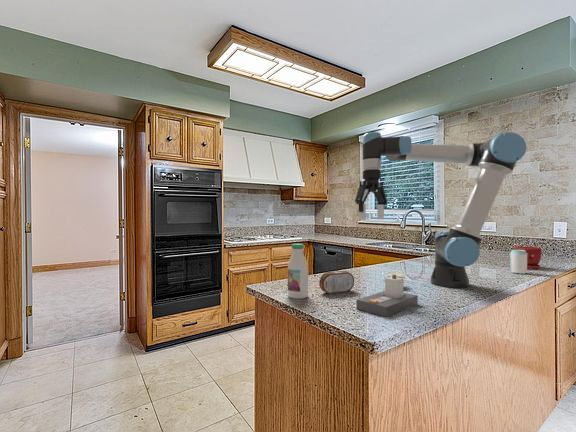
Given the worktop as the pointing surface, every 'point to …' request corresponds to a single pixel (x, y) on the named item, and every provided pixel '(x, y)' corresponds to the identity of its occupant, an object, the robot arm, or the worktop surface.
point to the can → (518, 261)
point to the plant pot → (531, 261)
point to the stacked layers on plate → (396, 275)
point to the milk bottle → (297, 273)
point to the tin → (336, 282)
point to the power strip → (386, 303)
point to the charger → (394, 287)
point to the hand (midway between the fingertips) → (371, 219)
